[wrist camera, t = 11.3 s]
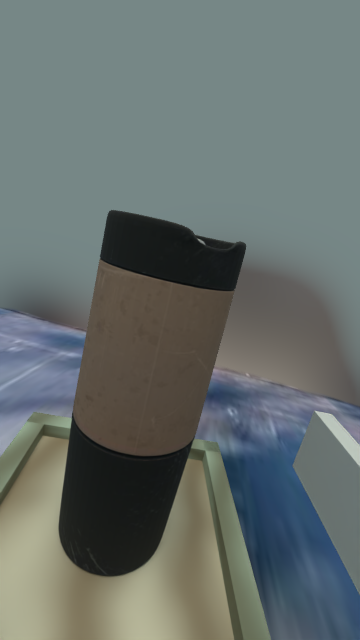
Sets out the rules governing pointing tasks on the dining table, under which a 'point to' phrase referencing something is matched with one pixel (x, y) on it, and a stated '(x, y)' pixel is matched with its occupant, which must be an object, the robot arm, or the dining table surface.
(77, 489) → the travel mug
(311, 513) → the dining table surface
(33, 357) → the dining table surface
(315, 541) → the dining table surface
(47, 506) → the tray
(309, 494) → the robot arm
